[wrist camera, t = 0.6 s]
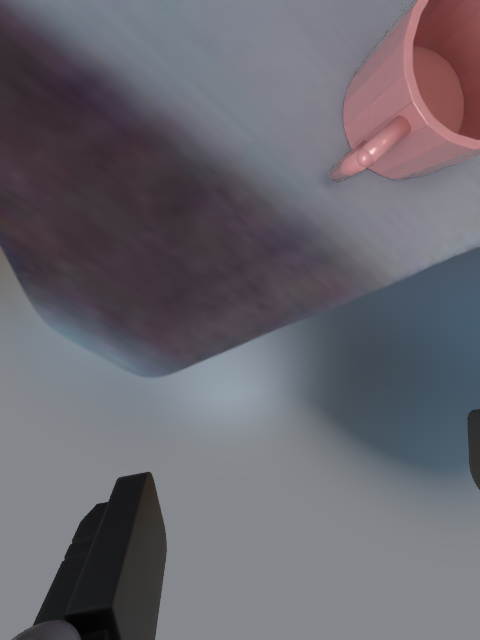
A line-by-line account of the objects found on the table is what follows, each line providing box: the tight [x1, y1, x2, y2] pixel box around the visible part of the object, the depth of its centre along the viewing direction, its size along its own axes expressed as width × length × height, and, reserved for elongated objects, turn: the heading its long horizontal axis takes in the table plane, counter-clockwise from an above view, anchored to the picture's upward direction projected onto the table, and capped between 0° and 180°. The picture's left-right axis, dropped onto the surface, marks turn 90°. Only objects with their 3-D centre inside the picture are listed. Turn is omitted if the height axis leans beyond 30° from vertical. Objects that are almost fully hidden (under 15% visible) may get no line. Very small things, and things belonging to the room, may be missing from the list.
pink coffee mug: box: [329, 0, 480, 182], centre depth 29 cm, size 15×11×11 cm
